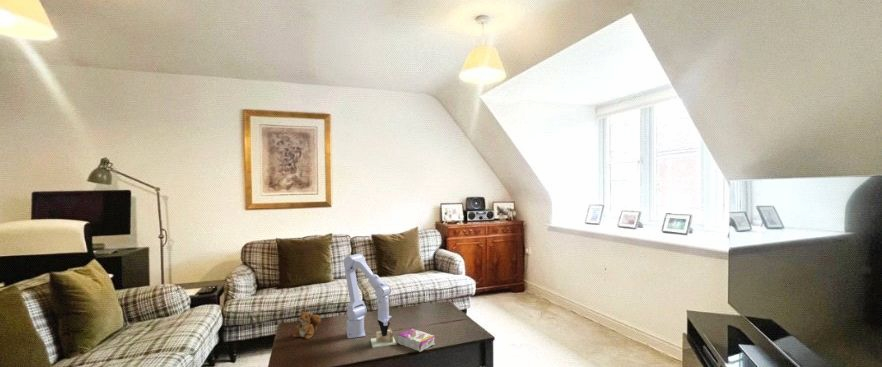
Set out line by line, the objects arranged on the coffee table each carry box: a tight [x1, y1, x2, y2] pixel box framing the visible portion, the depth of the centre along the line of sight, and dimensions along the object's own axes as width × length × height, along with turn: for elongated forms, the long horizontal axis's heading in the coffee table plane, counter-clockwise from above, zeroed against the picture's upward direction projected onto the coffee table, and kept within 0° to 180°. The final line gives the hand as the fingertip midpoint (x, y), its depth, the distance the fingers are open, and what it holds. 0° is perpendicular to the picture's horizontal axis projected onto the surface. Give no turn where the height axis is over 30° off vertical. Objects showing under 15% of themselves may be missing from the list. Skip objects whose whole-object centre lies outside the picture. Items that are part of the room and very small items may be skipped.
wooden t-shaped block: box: [375, 327, 394, 343], centre depth 198 cm, size 8×7×5 cm
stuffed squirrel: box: [292, 311, 322, 340], centre depth 211 cm, size 10×14×13 cm
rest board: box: [370, 336, 397, 349], centre depth 198 cm, size 12×10×1 cm
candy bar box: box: [397, 327, 436, 353], centre depth 195 cm, size 11×5×16 cm
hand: (383, 334), depth 198 cm, fingers closed on wooden t-shaped block, 2 cm apart
